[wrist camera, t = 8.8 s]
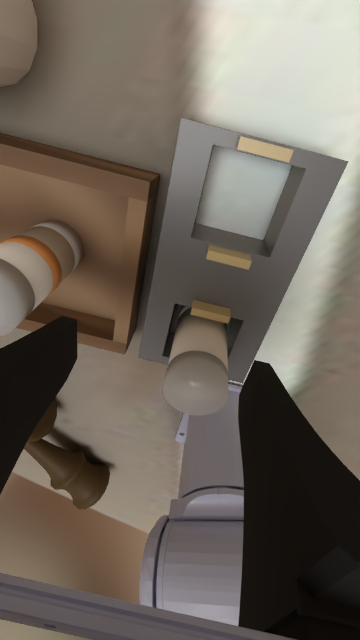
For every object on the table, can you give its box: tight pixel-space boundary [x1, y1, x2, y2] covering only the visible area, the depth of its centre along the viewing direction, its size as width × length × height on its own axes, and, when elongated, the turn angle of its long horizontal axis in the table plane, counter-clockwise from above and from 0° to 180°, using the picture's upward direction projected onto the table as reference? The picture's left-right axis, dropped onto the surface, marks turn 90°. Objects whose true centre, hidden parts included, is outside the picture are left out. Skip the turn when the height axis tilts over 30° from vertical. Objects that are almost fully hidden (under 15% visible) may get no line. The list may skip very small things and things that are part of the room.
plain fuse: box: [163, 305, 228, 416], centre depth 19 cm, size 4×4×8 cm
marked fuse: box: [0, 220, 84, 335], centre depth 17 cm, size 4×4×8 cm
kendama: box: [24, 400, 110, 509], centre depth 31 cm, size 6×10×20 cm
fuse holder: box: [138, 118, 348, 383], centre depth 19 cm, size 15×8×4 cm, turn 168°
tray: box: [0, 133, 160, 354], centre depth 20 cm, size 12×12×3 cm
